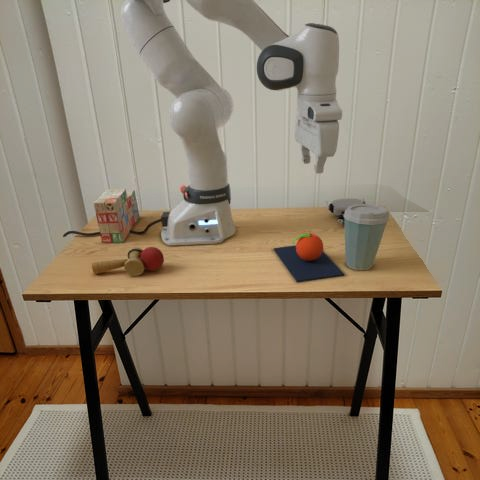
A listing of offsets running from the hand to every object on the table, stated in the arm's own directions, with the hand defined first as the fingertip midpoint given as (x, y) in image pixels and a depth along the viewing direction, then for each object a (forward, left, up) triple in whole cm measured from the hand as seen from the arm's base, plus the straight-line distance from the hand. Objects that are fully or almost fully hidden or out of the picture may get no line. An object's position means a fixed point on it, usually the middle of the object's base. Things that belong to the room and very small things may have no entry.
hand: (312, 167), depth 113 cm
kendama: (-48, 0, -22) cm, 53 cm away
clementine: (-3, -8, -21) cm, 23 cm away
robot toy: (+20, +17, -22) cm, 34 cm away
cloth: (-3, -8, -22) cm, 23 cm away
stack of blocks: (-50, +31, -22) cm, 63 cm away
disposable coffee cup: (+9, -14, -22) cm, 27 cm away
